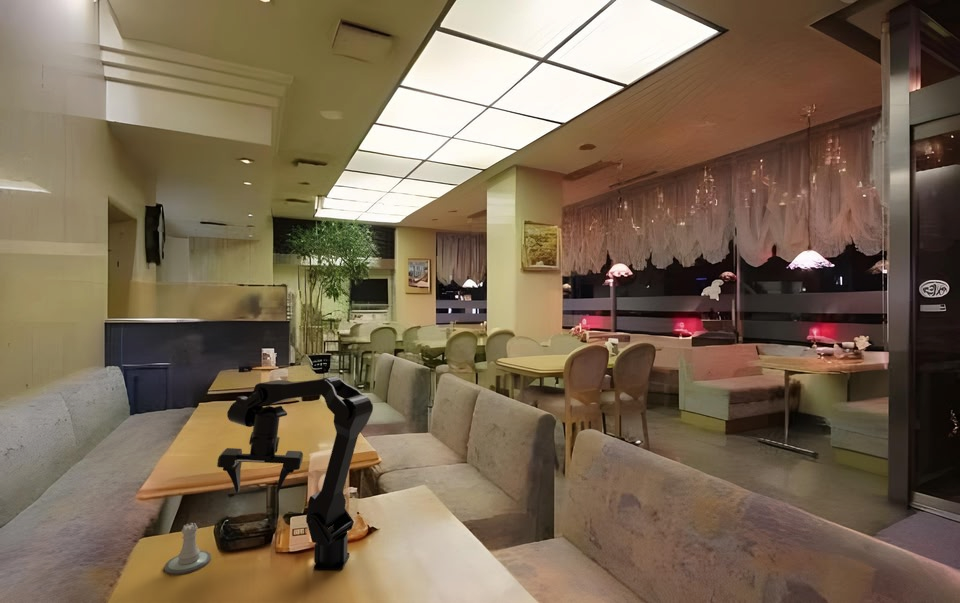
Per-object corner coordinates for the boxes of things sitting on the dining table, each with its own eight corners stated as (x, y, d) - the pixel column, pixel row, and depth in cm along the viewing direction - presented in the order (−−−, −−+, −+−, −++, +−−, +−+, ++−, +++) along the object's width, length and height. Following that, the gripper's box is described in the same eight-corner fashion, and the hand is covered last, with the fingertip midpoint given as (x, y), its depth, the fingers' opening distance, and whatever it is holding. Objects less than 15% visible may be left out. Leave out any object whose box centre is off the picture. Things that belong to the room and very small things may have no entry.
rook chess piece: (193, 565, 103) (194, 529, 103) (173, 566, 103) (173, 530, 103) (204, 555, 107) (205, 520, 108) (184, 555, 107) (185, 521, 107)
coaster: (218, 553, 110) (218, 550, 110) (196, 574, 101) (196, 571, 101) (180, 553, 110) (181, 550, 110) (154, 574, 101) (154, 571, 101)
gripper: (309, 423, 124) (301, 479, 124) (234, 419, 119) (226, 477, 120) (303, 437, 113) (295, 499, 113) (220, 433, 109) (212, 497, 109)
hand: (257, 492), depth 114 cm, fingers open, 9 cm apart
